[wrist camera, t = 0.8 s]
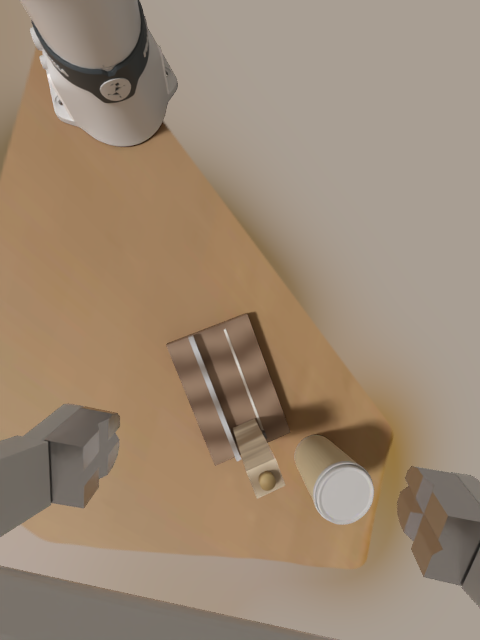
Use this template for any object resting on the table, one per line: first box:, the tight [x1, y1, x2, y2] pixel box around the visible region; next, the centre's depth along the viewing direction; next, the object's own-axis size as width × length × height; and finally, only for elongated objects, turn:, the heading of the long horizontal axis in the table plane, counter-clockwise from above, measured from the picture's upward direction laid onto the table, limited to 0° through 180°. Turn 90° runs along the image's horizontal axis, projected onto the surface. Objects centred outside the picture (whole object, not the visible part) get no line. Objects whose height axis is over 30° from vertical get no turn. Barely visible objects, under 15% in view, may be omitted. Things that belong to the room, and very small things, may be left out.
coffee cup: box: [295, 435, 374, 524], centre depth 51 cm, size 9×9×12 cm
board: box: [166, 314, 290, 466], centre depth 52 cm, size 22×14×4 cm, turn 20°
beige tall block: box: [233, 419, 285, 499], centre depth 45 cm, size 4×5×14 cm
